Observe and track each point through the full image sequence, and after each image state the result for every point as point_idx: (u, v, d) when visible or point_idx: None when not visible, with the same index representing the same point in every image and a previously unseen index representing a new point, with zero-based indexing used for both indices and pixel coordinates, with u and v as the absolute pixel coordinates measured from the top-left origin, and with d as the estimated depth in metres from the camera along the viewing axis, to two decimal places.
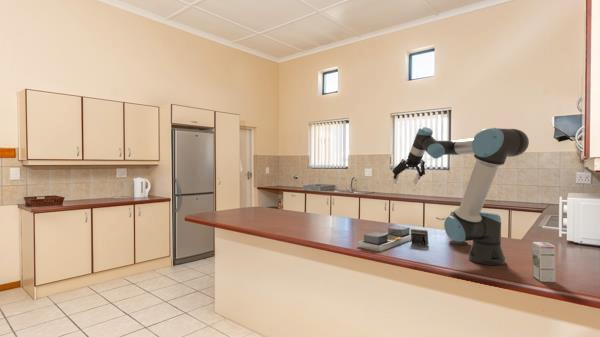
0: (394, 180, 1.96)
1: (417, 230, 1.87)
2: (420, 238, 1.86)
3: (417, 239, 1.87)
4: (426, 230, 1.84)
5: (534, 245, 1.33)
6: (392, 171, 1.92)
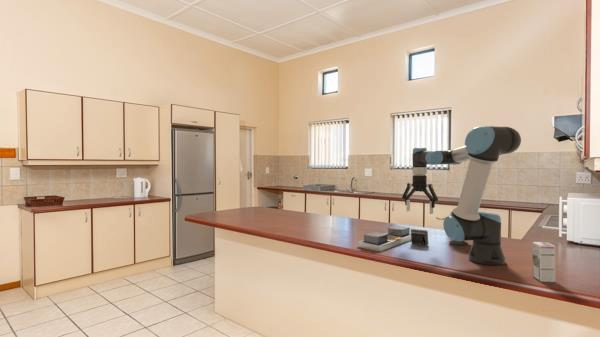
0: None
1: (417, 230, 1.87)
2: (420, 238, 1.86)
3: (417, 239, 1.87)
4: (426, 230, 1.84)
5: (534, 245, 1.33)
6: None
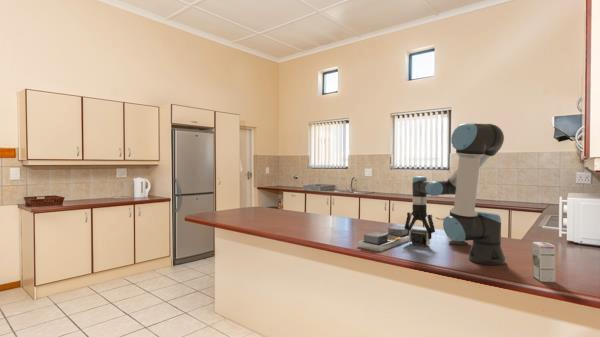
0: None
1: (417, 230, 1.87)
2: (420, 238, 1.85)
3: (417, 239, 1.87)
4: (426, 230, 1.84)
5: (534, 245, 1.33)
6: None
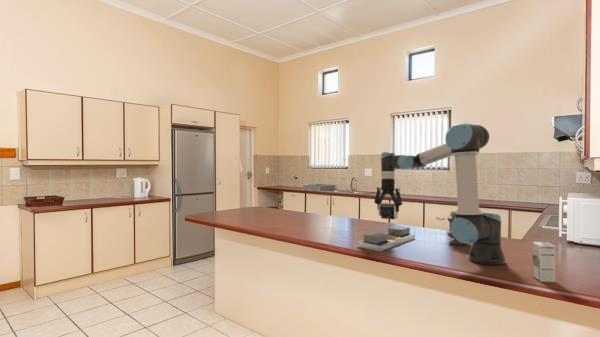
0: None
1: (386, 204, 1.93)
2: (389, 211, 1.91)
3: (386, 212, 1.93)
4: None
5: (534, 245, 1.33)
6: None
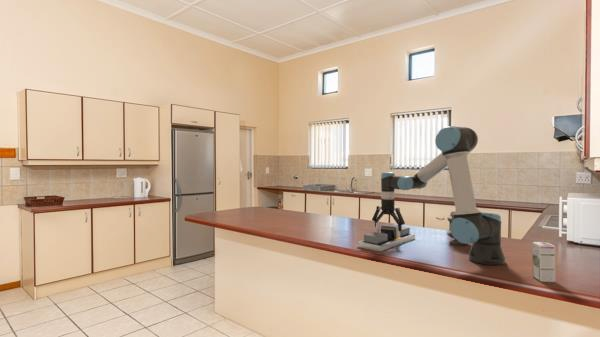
0: None
1: (387, 226, 1.93)
2: (389, 234, 1.91)
3: None
4: (395, 226, 1.90)
5: (534, 245, 1.33)
6: None
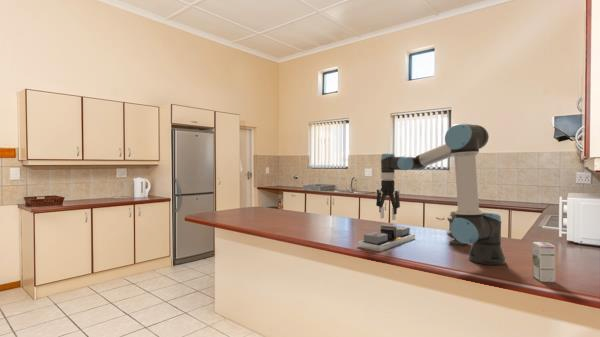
0: None
1: (387, 226, 1.93)
2: (389, 234, 1.91)
3: None
4: (395, 226, 1.90)
5: (534, 245, 1.33)
6: None
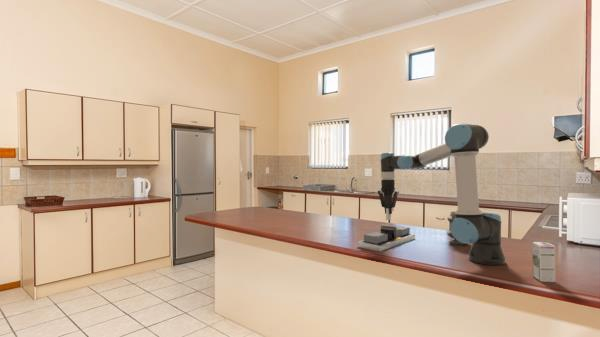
0: None
1: (387, 226, 1.93)
2: (389, 234, 1.91)
3: None
4: (395, 226, 1.90)
5: (534, 245, 1.33)
6: None
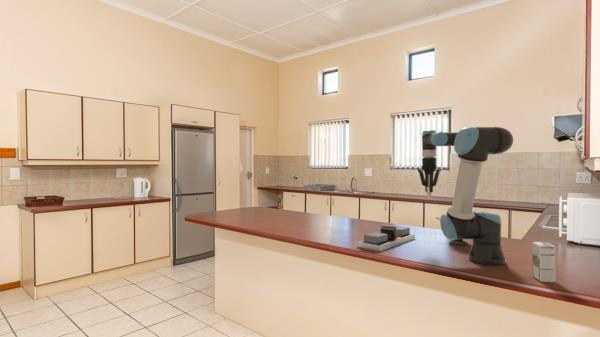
0: None
1: (387, 226, 1.93)
2: (389, 234, 1.91)
3: None
4: (395, 226, 1.90)
5: (534, 245, 1.33)
6: None
